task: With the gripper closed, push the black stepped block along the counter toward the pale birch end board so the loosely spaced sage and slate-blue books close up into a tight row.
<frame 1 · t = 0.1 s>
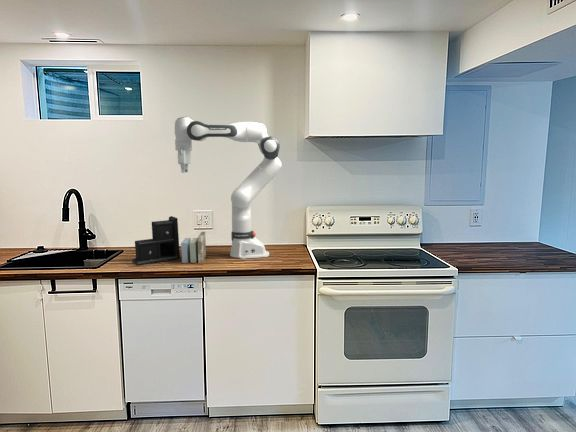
hand: (184, 172, 227), 48 cm above the worktop, tool pointing down, fingers open, 8 cm apart
book b: (186, 259, 226), on the worktop
book a: (195, 259, 227), on the worktop
black stepped block: (156, 261, 225), on the worktop
end board: (202, 259, 227), on the worktop
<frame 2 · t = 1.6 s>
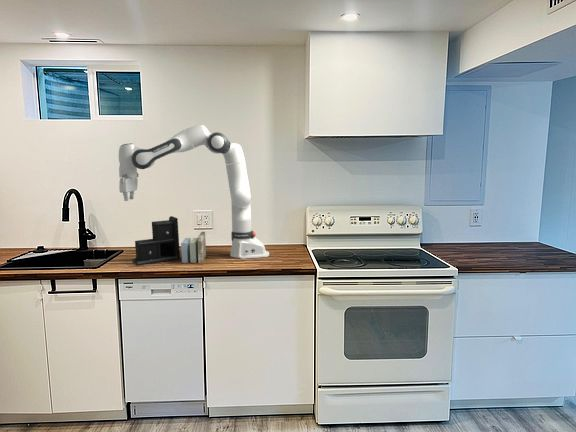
hand: (129, 200, 220), 34 cm above the worktop, tool pointing down, fingers open, 8 cm apart
nothing on the worktop moved.
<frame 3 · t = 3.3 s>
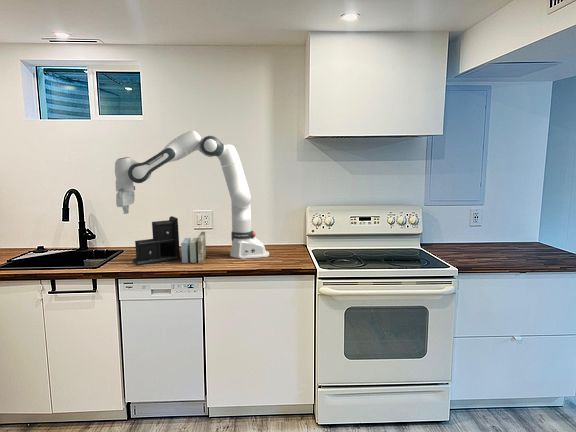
hand: (126, 213, 220), 26 cm above the worktop, tool pointing down, fingers closed
nothing on the worktop moved.
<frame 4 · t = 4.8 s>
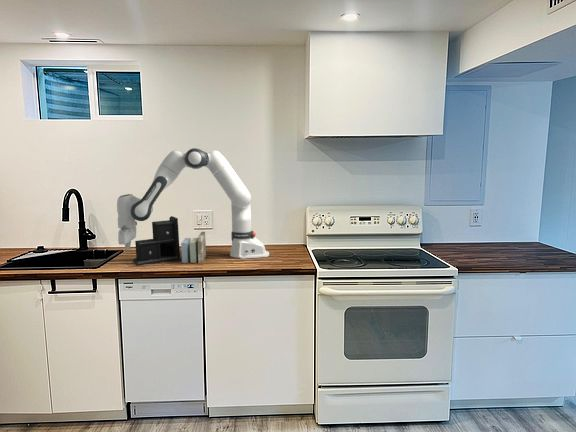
hand: (128, 249, 223), 7 cm above the worktop, tool pointing down, fingers closed
nothing on the worktop moved.
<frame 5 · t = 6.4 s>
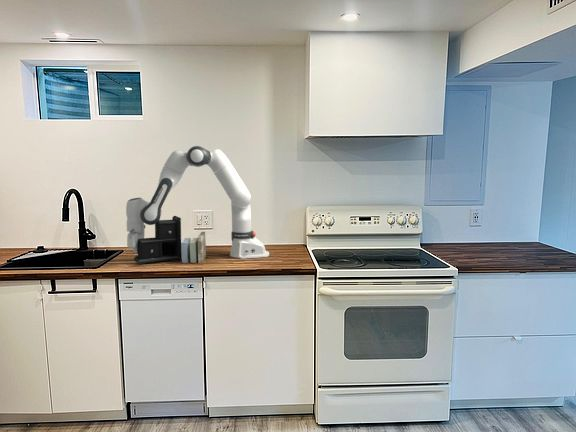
hand: (136, 252, 223), 5 cm above the worktop, tool pointing down, fingers closed
black stepped block: (157, 260, 224), on the worktop, touching arm, gripper
everything else where it was.
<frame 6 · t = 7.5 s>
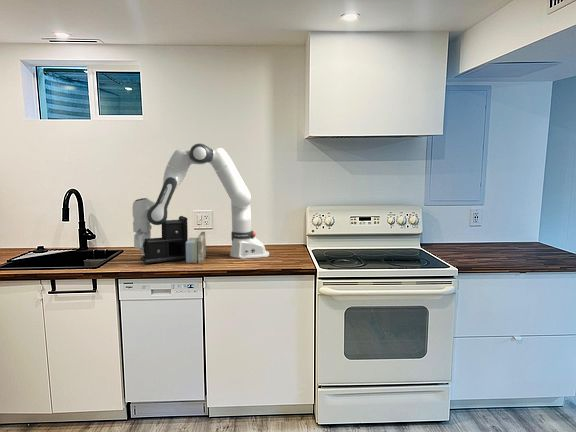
hand: (142, 253, 223), 4 cm above the worktop, tool pointing down, fingers closed
book b: (190, 259, 226), on the worktop
black stepped block: (164, 260, 224), on the worktop, touching arm, gripper
everything else where it was.
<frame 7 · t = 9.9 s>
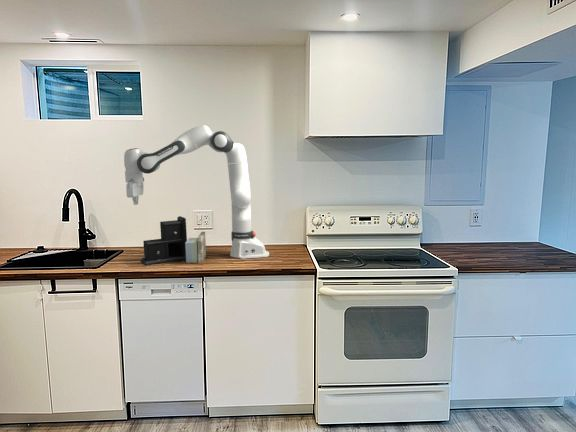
hand: (136, 204, 221), 31 cm above the worktop, tool pointing down, fingers closed
black stepped block: (164, 261, 224), on the worktop
everything else where it was.
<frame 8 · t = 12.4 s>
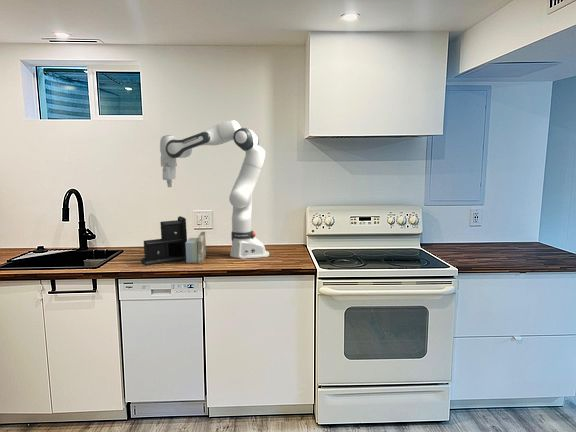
hand: (169, 187, 241), 39 cm above the worktop, tool pointing down, fingers closed
nothing on the worktop moved.
at the end: black stepped block inside the target area (0.9 cm from its centre), on the worktop; book b inside the target area (0.7 cm from its centre), on the worktop; book b tilted 0° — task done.
